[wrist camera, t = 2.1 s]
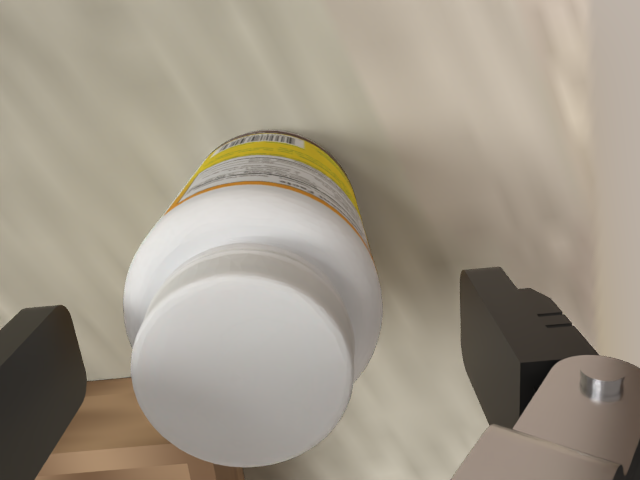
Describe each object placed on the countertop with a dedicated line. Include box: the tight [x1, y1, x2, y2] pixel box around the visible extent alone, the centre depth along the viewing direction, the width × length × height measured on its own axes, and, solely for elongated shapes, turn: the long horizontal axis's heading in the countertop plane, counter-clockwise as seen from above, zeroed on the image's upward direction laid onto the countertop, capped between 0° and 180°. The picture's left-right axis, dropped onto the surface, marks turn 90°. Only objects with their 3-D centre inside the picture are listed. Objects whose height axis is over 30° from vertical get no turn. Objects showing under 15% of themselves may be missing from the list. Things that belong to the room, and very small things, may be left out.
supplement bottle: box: [123, 130, 383, 467], centre depth 15 cm, size 6×6×10 cm
